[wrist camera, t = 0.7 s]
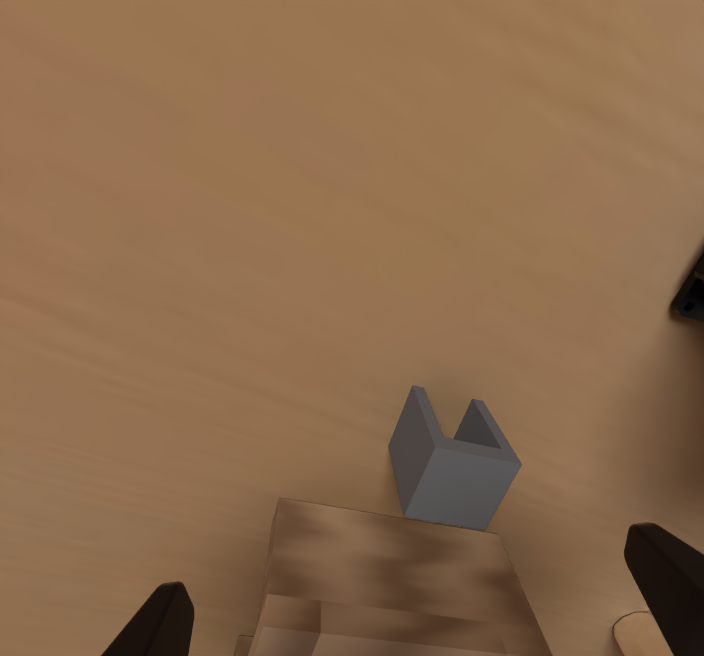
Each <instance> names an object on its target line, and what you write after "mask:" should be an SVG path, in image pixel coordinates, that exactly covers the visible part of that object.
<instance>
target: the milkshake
mask: <svg viewBox="0 0 704 656" xmlns="http://www.w3.org/2000/svg"><path fill="white" fill-rule="evenodd" d="M614 636H615V638H616V640H617V642H618V644H619V646H620V648H621V650H622V652H623V654H624V656H674V655H673V653H672V652H671V650H670V648H669V646H668V644H667V642H666V640H665V639H664V637H663V635H662V633H661V631H660V629H659V627H658V625H657V623H656V621H655V619H654V617H653V615H651V614H650V613H648V612H635V613H633V614H630V615H628V616H625V617H622V618H621V619H620V620H619V621H618V622H617V623H616V624H615V625H614Z"/></svg>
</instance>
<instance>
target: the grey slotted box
mask: <svg viewBox="0 0 704 656" xmlns="http://www.w3.org/2000/svg"><path fill="white" fill-rule="evenodd" d="M389 451H390V455H391V460H392V465H393V469H394V474H395V479H396V483H397V488H398V493H399V497H400V502H401V507H402V512H403V516H404V517H407V518H413V519H419V520H425V521H431V522H437V523H443V524H449V525H455V526H461V527H467V528H473V529H479V530H485V529H486V527H487V526H488V524H489V522H490V520H491V518H492V517H493V515H494V513H495V511H496V510H497V508H498V506H499V504H500V503H501V501H502V499H503V497H504V495H505V494H506V492H507V490H508V488H509V487H510V485H511V483H512V481H513V480H514V478H515V476H516V474H517V473H518V471H519V469H520V467H521V465H522V464H521V462H520V460H519V459H518V457H517V456H516V454H515V452H514V451H513V449H512V447H511V446H510V444H509V443H508V441H507V439H506V438H505V436H504V435H503V433H502V431H501V430H500V428H499V426H498V425H497V423H496V422H495V420H494V418H493V417H492V415H491V414H490V412H489V410H488V409H487V407H486V405H485V404H484V402H483V401H480V400H476V399H472V401H471V403H470V405H469V407H468V409H467V412H466V414H465V416H464V418H463V420H462V422H461V424H460V426H459V429H458V431H457V433H456V435H455V437H454V439H449V438H444V437H443V434H442V432H441V430H440V427H439V425H438V422H437V420H436V417H435V415H434V412H433V410H432V408H431V405H430V403H429V400H428V398H427V395H426V393H425V390H424V388H422V387H418V386H412V388H411V391H410V393H409V396H408V398H407V401H406V403H405V406H404V408H403V411H402V413H401V416H400V418H399V421H398V423H397V426H396V428H395V431H394V433H393V436H392V438H391V441H390V443H389Z"/></svg>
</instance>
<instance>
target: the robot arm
mask: <svg viewBox="0 0 704 656" xmlns="http://www.w3.org/2000/svg"><path fill="white" fill-rule="evenodd" d="M686 303H687V305H686V306H685V304H686ZM684 306H685V307H684ZM672 309H673V311H674V312H676V313H678V314H680V315H682V316H685V317H688V318H692V319H695V320H699V321H702V322H704V254H703V256H702V257H701V259H700V260H699V262H698V264H697V265H696V267H695V268H694V270H693V272H692V273H691V275H690V276H689V278H688V280H687V281H686V283H685V284H684V286H683V288H682V289H681V291H680V292H679V294H678V296H677V297H676V299H675V300H674V302H673V305H672ZM624 557H625V561H626V563H627V566H628V568H629V570H630V572H631V574H632V576H633V578H634V580H635V582H636V583H637V585H638V587H639V589H640V591H641V593H642V595H643V597H644V599H645V601H646V603H647V605H648V607H649V609H650V611H651V613H652V615H653V617H654V619H655V621H656V623H657V625H658V627H659V629H660V631H661V633H662V635H663V637H664V639H665V640H666V642H667V644H668V646H669V648H670V650H671V652H672V653H673V655H674V656H704V554H702V553H700V552H699V551H697V550H696V549H694V548H693V547H691V546H690V545H688V544H686V543H685V542H683V541H682V540H680V539H679V538H677V537H676V536H674V535H672V534H671V533H669V532H668V531H666V530H665V529H663V528H662V527H660V526H658V525H656V524H654V523H650V522H647V523H639V524H633V525H631V526H630V527H629V530H628V535H627V540H626V545H625V549H624ZM193 622H194V607H193V604H192V602H191V599H190V597H189V595H188V593H187V590H186V588H185V586H184V584H183V583H182V582H180V581H178V582H170V583H164V584H161V585H160V586H159V587H157V589H156V590H155V591H154V592H153V593H152V594H151V596H150V597H149V598H148V599H147V601H146V602H145V603H144V604H143V605H142V607H141V608H140V609H139V610H138V611H137V613H136V614H135V615H134V616H133V617H132V619H131V620H130V621H129V622H128V624H127V625H126V626H125V627H124V628H123V630H122V631H121V632H120V633H119V634H118V636H117V637H116V638H115V639H114V640H113V642H112V643H111V644H110V645H109V647H108V648H107V649H106V650H105V651H104V653H103V654H102V655H101V656H188V653H189V647H190V641H191V635H192V628H193Z"/></svg>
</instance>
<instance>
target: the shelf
mask: <svg viewBox="0 0 704 656" xmlns="http://www.w3.org/2000/svg"><path fill="white" fill-rule="evenodd" d="M234 656H552V654H551V651H550V649H549V647H548V645H547V642H546V640H545V638H544V636H543V633H542V631H541V629H540V627H539V625H538V622H537V620H536V618H535V616H534V613H533V611H532V609H531V607H530V604H529V602H528V600H527V598H526V595H525V593H524V591H523V589H522V586H521V584H520V582H519V580H518V578H517V575H516V573H515V571H514V569H513V566H512V564H511V562H510V560H509V557H508V555H507V553H506V551H505V548H504V546H503V544H502V542H501V540H500V537H499V535H498V534H494V533H488V532H482V531H476V530H470V529H464V528H458V527H452V526H446V525H440V524H434V523H428V522H422V521H416V520H410V519H404V518H398V517H392V516H386V515H380V514H374V513H368V512H362V511H356V510H350V509H344V508H338V507H332V506H326V505H320V504H314V503H308V502H302V501H296V500H290V499H284V498H279V501H278V505H277V508H276V512H275V515H274V518H273V522H272V528H271V536H270V543H269V550H268V557H267V565H266V572H265V579H264V587H263V594H262V601H261V608H260V616H259V622H258V625H257V628H256V632H255V635H254V637H249V636H240V635H239V638H238V641H237V645H236V648H235V652H234Z"/></svg>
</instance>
